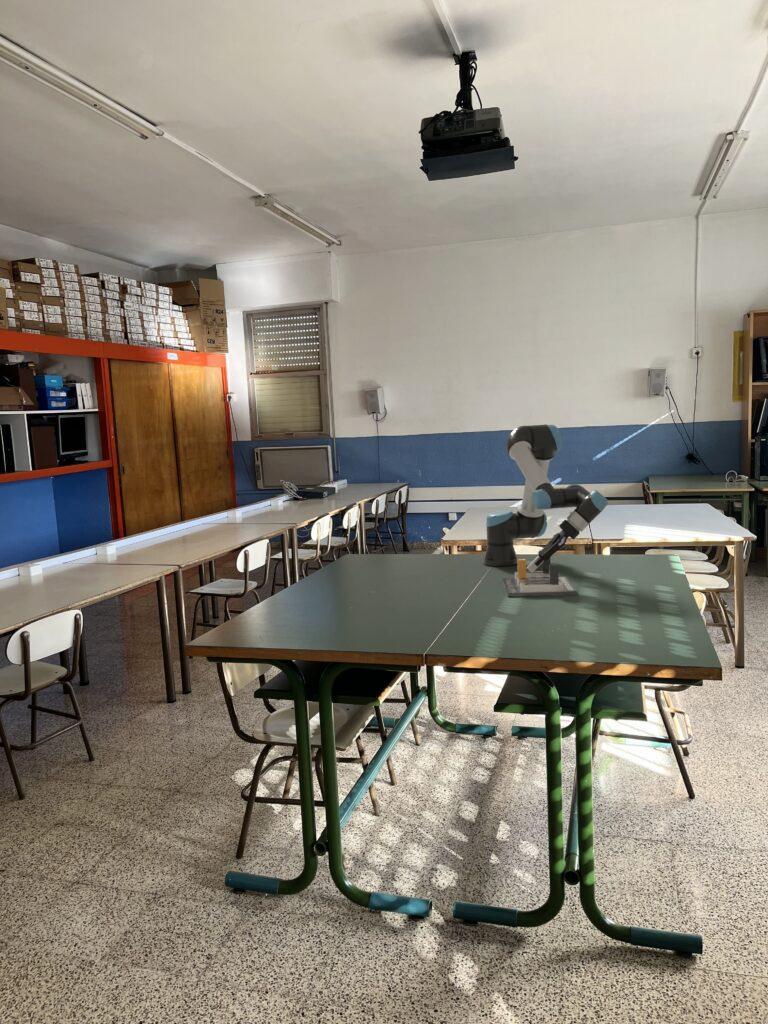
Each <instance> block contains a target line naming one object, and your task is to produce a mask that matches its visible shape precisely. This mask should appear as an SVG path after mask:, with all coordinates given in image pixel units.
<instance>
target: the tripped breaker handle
mask: <svg viewBox="0 0 768 1024" xmlns="http://www.w3.org/2000/svg"><path fill="white" fill-rule="evenodd" d="M517 572H518V578H526V572H527V559H526V558H518V559H517Z"/></svg>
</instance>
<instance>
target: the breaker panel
mask: <svg viewBox="0 0 768 1024" xmlns="http://www.w3.org/2000/svg"><path fill="white" fill-rule="evenodd" d="M501 583H502V585H503V588H504V590H505V593H506V595H507V597H508V598H519V597H522V598H525V597H553V596H554V597H555V596H557V597H559V596H560V597H561V596H564V597H565V596H578V590H577V588H576V587H575V586H574V585H573V584H572V582H571V581H570V579H568V577H567V576H559V564H558V563H551V557H550V558H549V559H548V560H547V561H544V562H543V563H542V564H541V570H538V571H536V570H535V571H534V572H533V573H531V572H530V571H529V570H528V571H526V578H518V571H514V577H513V578H511V577H508V578H507V577H506V578H505V577H504V578H502V581H501Z"/></svg>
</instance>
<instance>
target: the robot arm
mask: <svg viewBox="0 0 768 1024" xmlns="http://www.w3.org/2000/svg"><path fill="white" fill-rule="evenodd" d="M562 444H563V443H562V435H561V431H560V430H559V428H558V427H557V426H556V425H555V424H535V425H520V426H517V427H516V428H513V430H512V431H511V432H510V433H509V434H508V436H507V438H506V443H505V446H506V448H505V449H506V452H507V454H508V456H509V457H510V459H511V460H514V461H515V463H516V464H517V466H518V469H519V470H520V471H521V473H522V475H523V477H524V478H525V484H524V489H523V495H522V502H521V504H520V505H519V506H518V507H517V512H513V511H512V510H506V509H505V510H498V511H493V512H490V513H488V515H487V516H486V524H485V527H486V550H485V553H484V557H483V565H485V566H491V567H510V566H514V565H518V563H517V559H519V558H518V556H517V552H516V550H515V547H514V540H521V539H534V538H540V537H542V536H544V534H545V532H546V531H547V527H548V517H547V515H546V512H545V510H553V509H565V508H575V509H574V510H573V511H569V514H568V516H567V517H566V519H564V520H563V521H562V522H561V523H560V524H559V525H558V527H559V528H560V530H561V531H560V532H557V533H556V534H553V536H552V537H551V539H550V540H549V541H548V542H547V543H546V544H545V546H544V547H543V548H542V549H541V550H540V551H539V552H538V553H537V556H536V557H535V558H534V559H533V560H532V561H531V562H530V564H528V565H527V566H526V570H528V572H529V571H530V572H531V573H533V572H534V571H536V570H537V569H538V568H539V567H540V566H542V563H543V562H544V561H547V560H548V559H549V558H550V559H551V557H552V556H554V554H556V553H558V551H559V550H560V549H561V548H563V547H564V546H565V545H566V543H567V540H568V539H569V538H570V539H572V540H575V539H576V538H577V537H578V536H579V535H580V532H583V531H584V530H585V529H586V528H587V527H588V526H589V525H590V523H591V522H593V521H594V520H595V519H596V518H597V517H598V516H599V515H600V513H602V512H603V511H604V510H605V509H606V507H607V506H608V505H609V500H608V499H607V498H606V497H605V496H604V495H603V494H602V493H601V492H600V491H598V490H596V489H594V490H592V491H591V492H590V491H588V490H587V489H586V488H585V487H583V486H581V485H580V484H578V483H572V484H569V485H568V486H567V487H564V488H563V487H562V488H555V487H554V486H553V484H552V483H551V481H550V479H549V478H548V472H549V465H550V461H552V460H553V459H554V456H555V453H558V452H560V451H561V449H562Z"/></svg>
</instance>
